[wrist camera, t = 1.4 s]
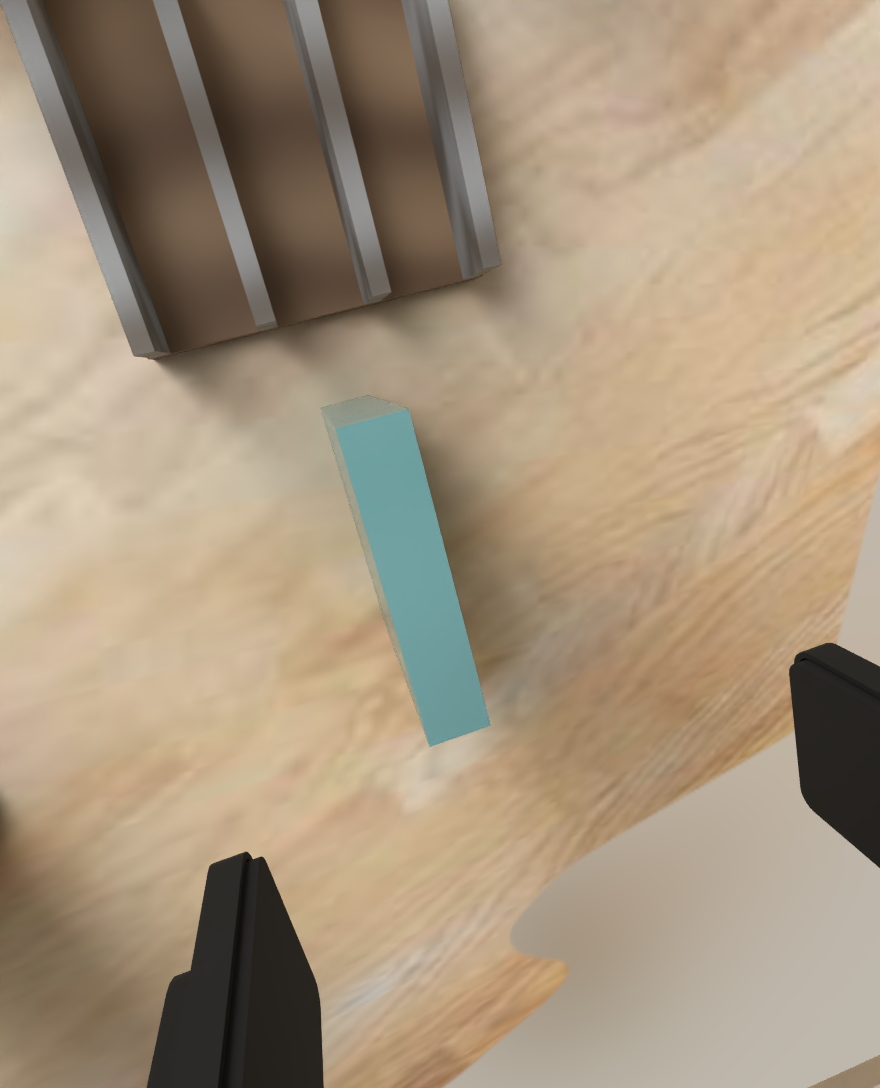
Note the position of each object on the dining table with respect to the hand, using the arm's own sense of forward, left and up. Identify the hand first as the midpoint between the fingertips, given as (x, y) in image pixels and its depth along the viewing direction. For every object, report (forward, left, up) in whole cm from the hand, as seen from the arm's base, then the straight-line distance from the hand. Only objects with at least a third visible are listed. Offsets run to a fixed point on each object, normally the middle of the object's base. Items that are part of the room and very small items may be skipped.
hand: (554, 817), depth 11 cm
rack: (+17, 0, -24) cm, 30 cm away
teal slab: (0, 0, -24) cm, 24 cm away
